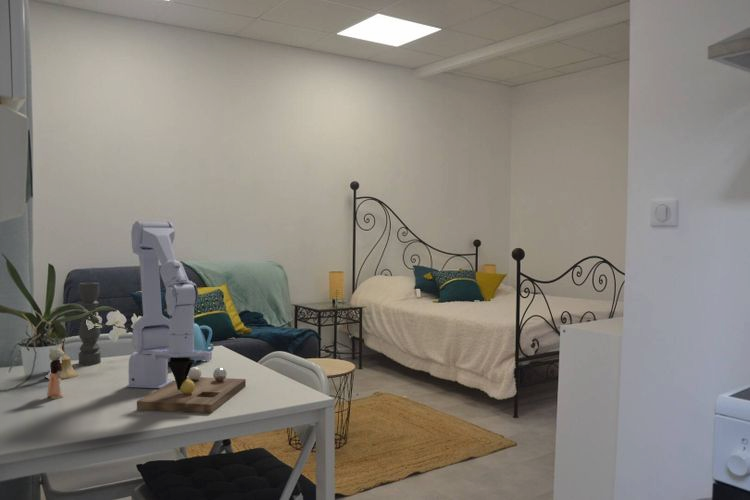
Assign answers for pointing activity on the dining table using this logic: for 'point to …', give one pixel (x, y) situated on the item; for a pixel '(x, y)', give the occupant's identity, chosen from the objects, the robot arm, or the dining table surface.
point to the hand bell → (67, 366)
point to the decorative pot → (201, 339)
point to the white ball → (194, 373)
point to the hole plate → (193, 396)
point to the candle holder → (88, 337)
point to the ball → (187, 387)
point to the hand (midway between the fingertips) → (181, 388)
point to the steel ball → (219, 374)
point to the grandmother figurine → (55, 373)
